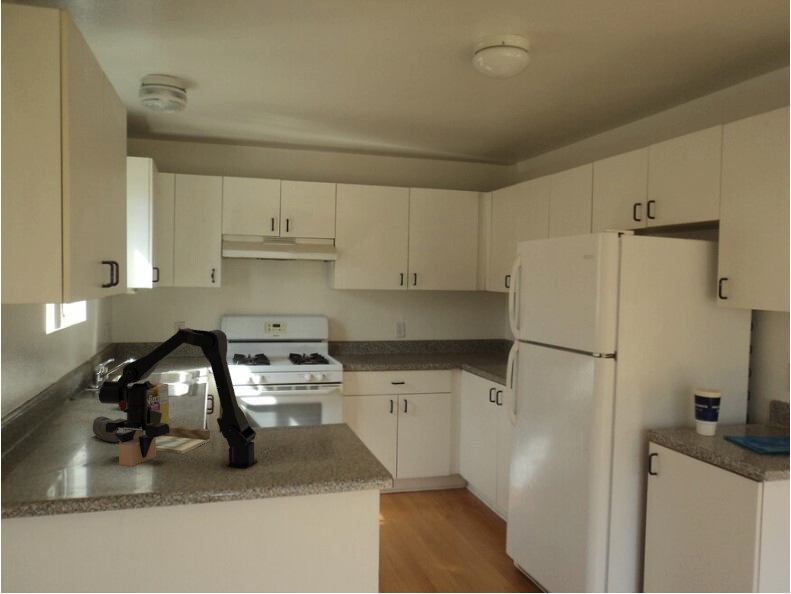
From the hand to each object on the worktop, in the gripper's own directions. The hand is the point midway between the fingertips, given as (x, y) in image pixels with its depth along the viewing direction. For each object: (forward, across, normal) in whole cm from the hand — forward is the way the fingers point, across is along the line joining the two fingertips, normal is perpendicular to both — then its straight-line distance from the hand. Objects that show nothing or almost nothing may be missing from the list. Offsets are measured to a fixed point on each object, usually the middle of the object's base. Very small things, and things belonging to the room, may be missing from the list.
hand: (137, 456), depth 177 cm
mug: (+2, +53, -53) cm, 75 cm away
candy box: (+2, +24, -37) cm, 44 cm away
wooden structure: (+1, +3, -17) cm, 17 cm away
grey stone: (+2, +25, -15) cm, 29 cm away
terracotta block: (+1, 0, 0) cm, 1 cm away
